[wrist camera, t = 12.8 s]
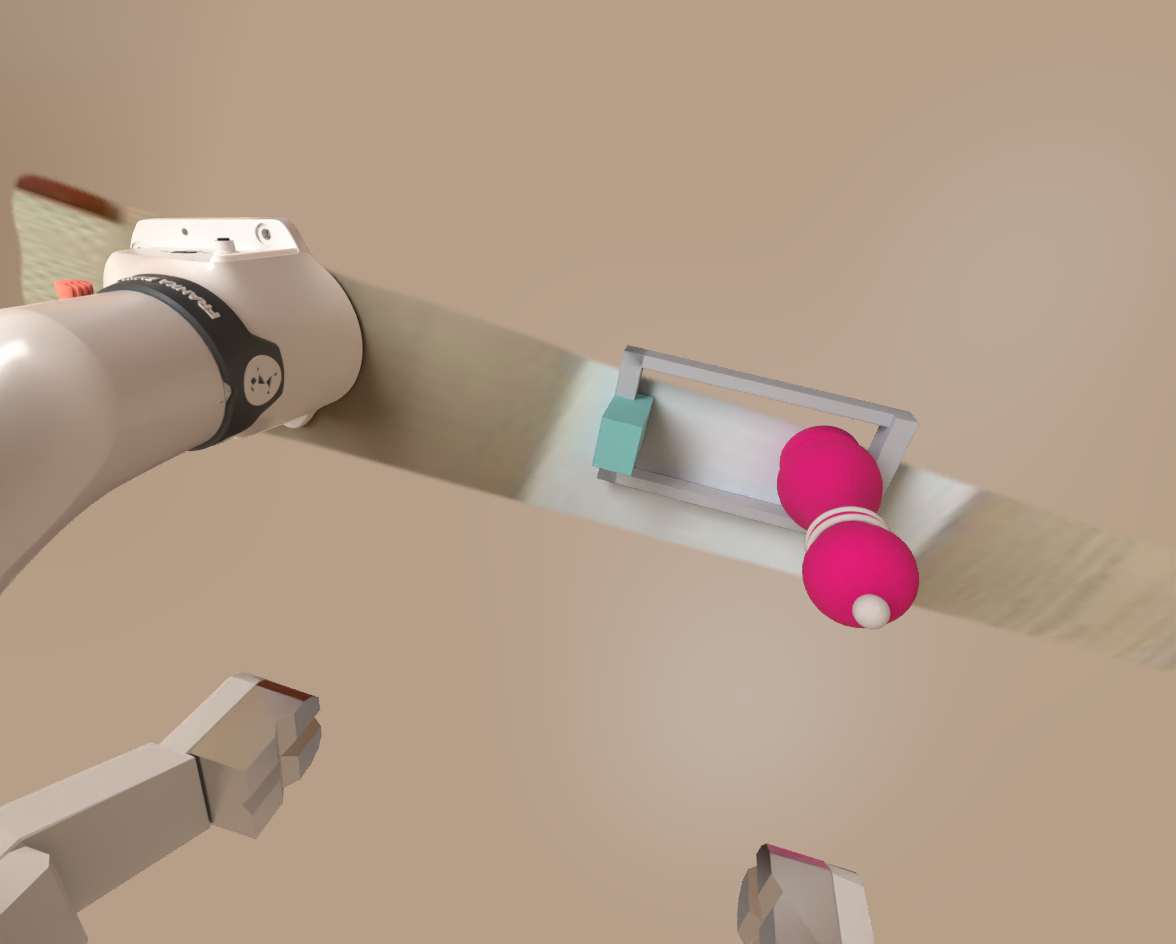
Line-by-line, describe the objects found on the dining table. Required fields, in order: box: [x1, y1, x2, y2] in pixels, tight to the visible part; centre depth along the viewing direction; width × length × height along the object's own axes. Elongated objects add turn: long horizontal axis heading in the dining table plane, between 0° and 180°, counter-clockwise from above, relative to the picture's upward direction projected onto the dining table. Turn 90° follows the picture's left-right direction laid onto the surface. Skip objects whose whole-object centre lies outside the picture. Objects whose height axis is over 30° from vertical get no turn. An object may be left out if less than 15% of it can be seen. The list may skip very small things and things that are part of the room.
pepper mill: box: [777, 426, 919, 629], centre depth 38 cm, size 7×7×20 cm
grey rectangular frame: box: [592, 345, 919, 533], centre depth 44 cm, size 22×11×7 cm, turn 80°
